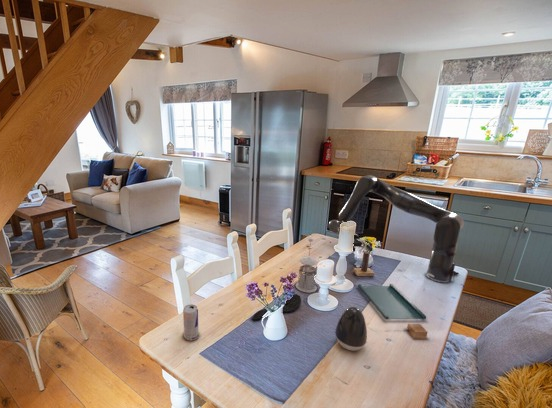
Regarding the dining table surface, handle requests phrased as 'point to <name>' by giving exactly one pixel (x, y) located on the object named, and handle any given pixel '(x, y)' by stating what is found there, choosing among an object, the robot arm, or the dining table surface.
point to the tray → (391, 302)
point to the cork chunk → (417, 331)
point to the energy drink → (190, 322)
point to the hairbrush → (286, 309)
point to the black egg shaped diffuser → (351, 329)
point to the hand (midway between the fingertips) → (363, 249)
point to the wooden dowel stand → (364, 267)
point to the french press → (307, 274)
